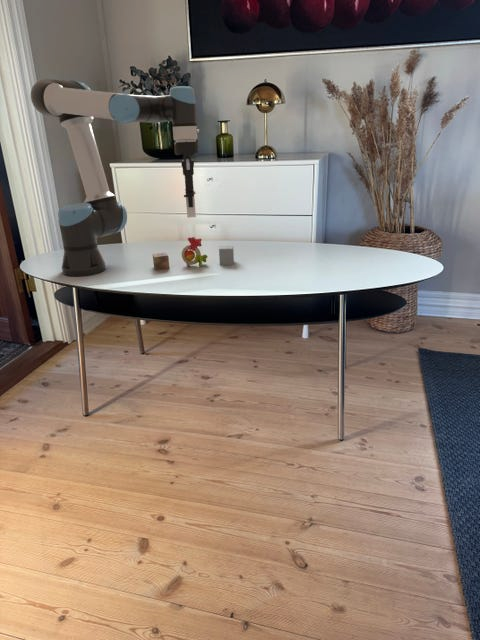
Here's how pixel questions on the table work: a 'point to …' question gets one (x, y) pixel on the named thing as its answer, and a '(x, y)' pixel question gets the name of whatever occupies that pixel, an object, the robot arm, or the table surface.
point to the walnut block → (161, 261)
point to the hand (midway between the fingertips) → (191, 215)
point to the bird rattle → (190, 255)
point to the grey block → (226, 255)
